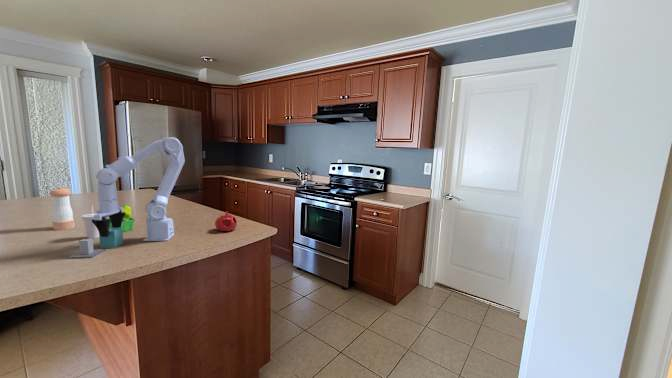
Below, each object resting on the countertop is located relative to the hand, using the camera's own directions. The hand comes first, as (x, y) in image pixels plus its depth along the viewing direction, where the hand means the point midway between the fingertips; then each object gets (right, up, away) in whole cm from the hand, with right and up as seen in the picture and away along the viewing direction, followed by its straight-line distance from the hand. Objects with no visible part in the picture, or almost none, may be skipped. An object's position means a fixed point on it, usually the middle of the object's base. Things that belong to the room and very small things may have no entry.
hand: (110, 233), depth 108 cm
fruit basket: (-12, -2, +21) cm, 24 cm away
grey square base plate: (-2, -6, -9) cm, 11 cm away
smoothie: (-15, -3, +9) cm, 18 cm away
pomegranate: (+35, -3, +26) cm, 44 cm away
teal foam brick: (0, -5, +1) cm, 5 cm away
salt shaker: (-38, -1, +20) cm, 43 cm away
